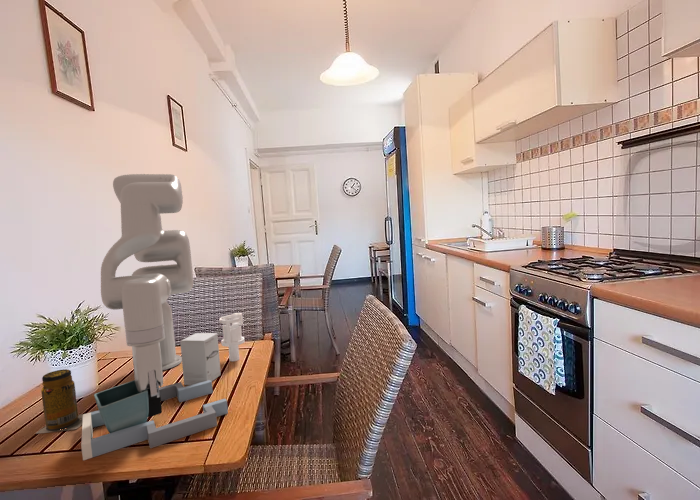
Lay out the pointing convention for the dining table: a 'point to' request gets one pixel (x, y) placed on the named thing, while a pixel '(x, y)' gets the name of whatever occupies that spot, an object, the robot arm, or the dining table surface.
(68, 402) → the condiment
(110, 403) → the flower pot
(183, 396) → the stepped grey frame
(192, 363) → the supplement box
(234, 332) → the white plastic fitting
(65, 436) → the dining table surface
